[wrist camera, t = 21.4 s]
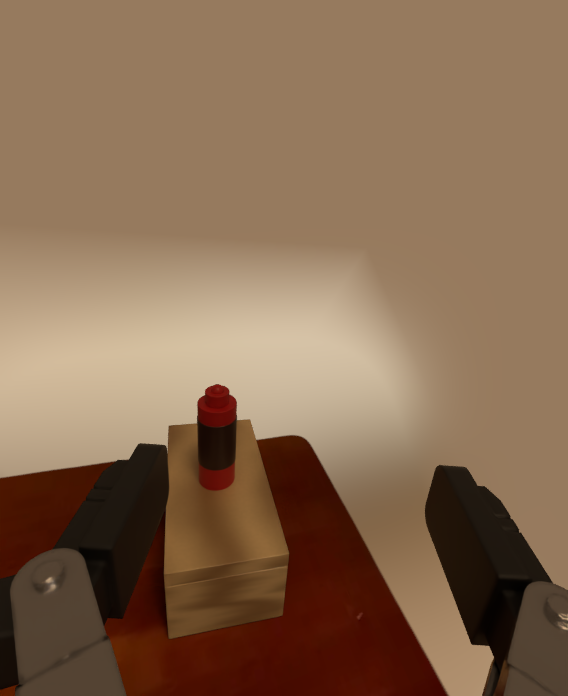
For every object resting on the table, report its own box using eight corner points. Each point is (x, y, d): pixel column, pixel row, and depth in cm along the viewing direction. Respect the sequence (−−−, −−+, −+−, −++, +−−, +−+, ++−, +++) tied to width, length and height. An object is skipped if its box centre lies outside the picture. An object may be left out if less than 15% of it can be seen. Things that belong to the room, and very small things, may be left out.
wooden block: (247, 469, 54) (250, 419, 51) (282, 616, 36) (289, 553, 33) (171, 477, 51) (168, 425, 48) (168, 639, 34) (163, 574, 30)
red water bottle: (214, 461, 43) (214, 372, 38) (242, 475, 41) (245, 383, 37) (190, 481, 40) (187, 386, 36) (219, 496, 38) (220, 399, 34)
